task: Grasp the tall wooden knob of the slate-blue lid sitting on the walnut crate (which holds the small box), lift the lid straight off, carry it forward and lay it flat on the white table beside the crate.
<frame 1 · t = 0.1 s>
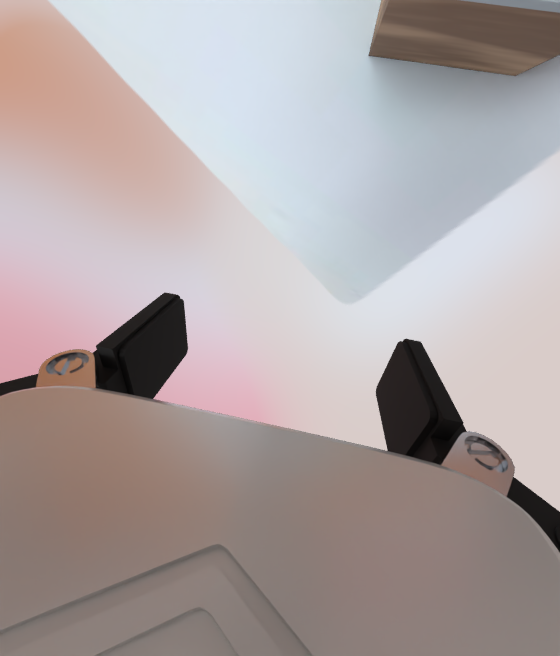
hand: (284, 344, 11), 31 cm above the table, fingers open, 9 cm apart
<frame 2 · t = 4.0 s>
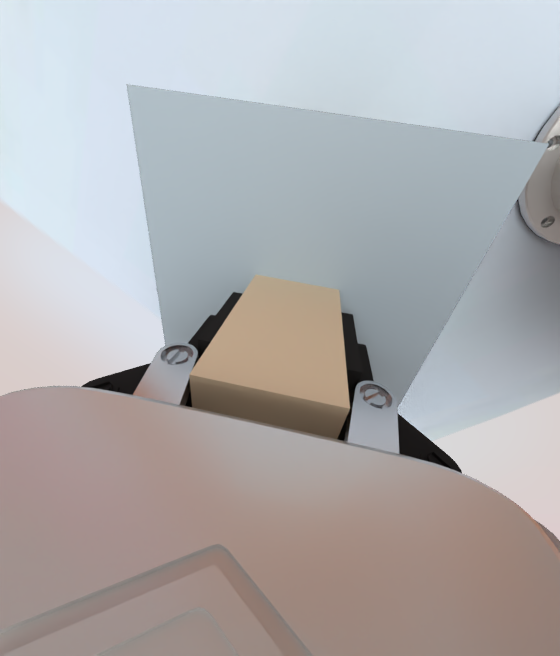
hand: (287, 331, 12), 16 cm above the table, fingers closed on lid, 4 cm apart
lid: (292, 308, 14), point 14 cm above the table, touching crate, gripper
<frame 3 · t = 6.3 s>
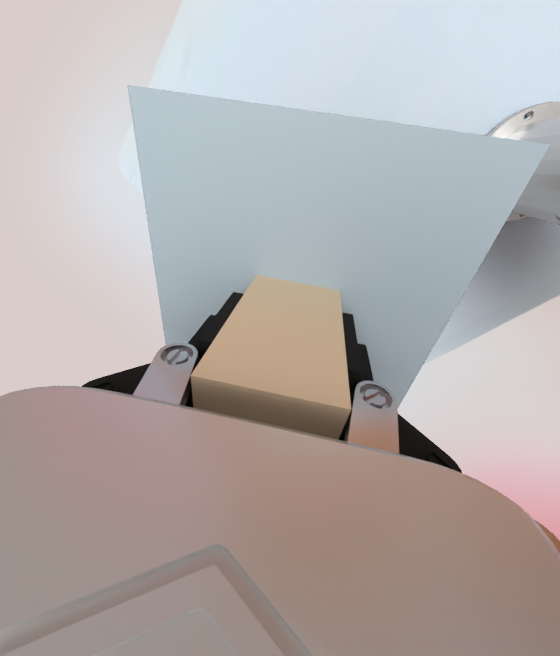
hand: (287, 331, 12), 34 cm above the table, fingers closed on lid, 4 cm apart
lid: (293, 309, 14), point 31 cm above the table, touching gripper
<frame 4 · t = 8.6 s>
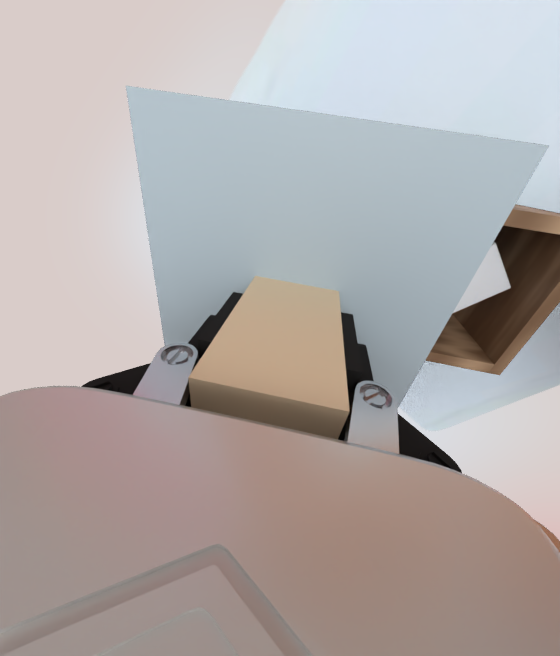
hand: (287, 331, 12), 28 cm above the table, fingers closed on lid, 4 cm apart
lid: (292, 310, 14), point 25 cm above the table, touching gripper
crate: (428, 257, 35), on the table
small box: (427, 256, 35), resting in crate
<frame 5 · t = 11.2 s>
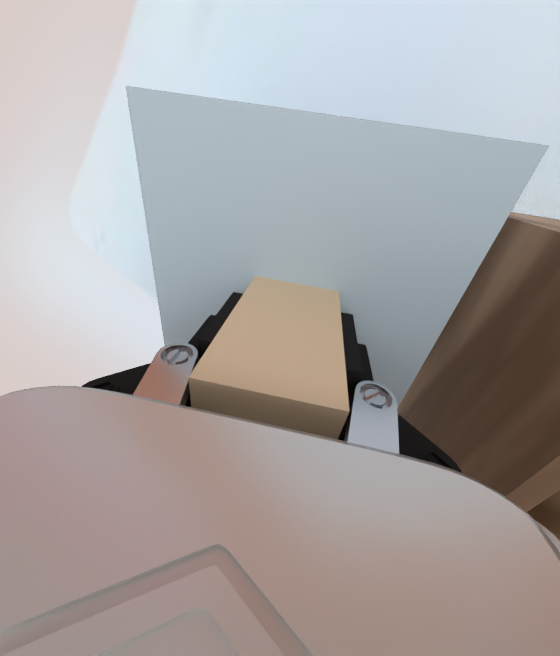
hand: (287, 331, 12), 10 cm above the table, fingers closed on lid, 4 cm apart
lid: (292, 310, 14), point 7 cm above the table, touching gripper
crate: (503, 326, 20), on the table
when the fingers open (4 cm above the table, at t = 13.4 s): lid stays where it is, point 1 cm above the table.
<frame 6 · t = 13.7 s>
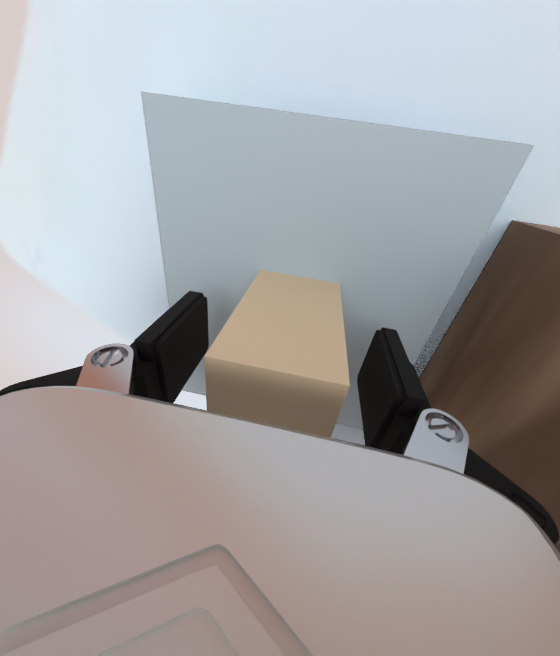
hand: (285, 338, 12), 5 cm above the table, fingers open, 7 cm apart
lid: (295, 303, 15), point 1 cm above the table
crate: (547, 370, 16), on the table
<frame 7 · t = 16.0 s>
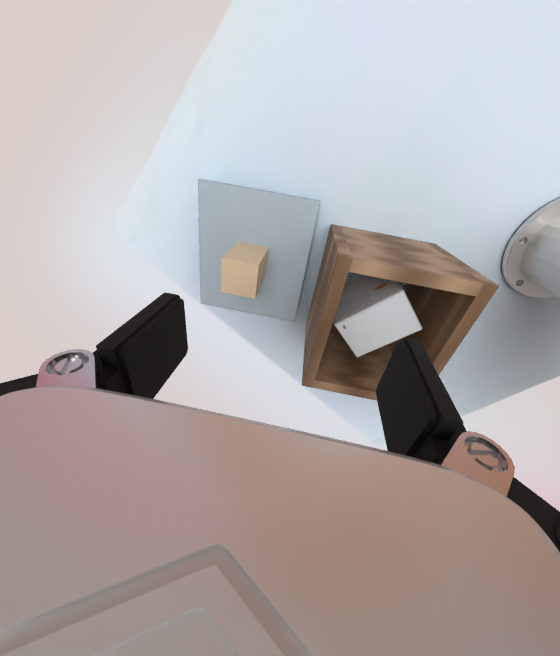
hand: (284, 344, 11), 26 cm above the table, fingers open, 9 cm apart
lid: (253, 257, 35), point 1 cm above the table
crate: (363, 289, 37), on the table
small box: (362, 288, 37), resting in crate
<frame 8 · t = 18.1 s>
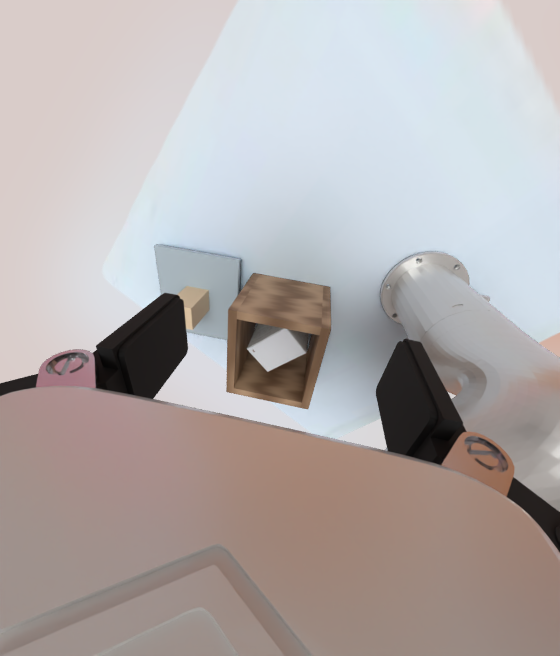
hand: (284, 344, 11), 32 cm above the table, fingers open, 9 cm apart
lid: (200, 295, 47), point 1 cm above the table
crate: (285, 318, 48), on the table
small box: (285, 317, 48), resting in crate
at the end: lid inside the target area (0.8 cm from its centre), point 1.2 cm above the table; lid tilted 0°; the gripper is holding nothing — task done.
